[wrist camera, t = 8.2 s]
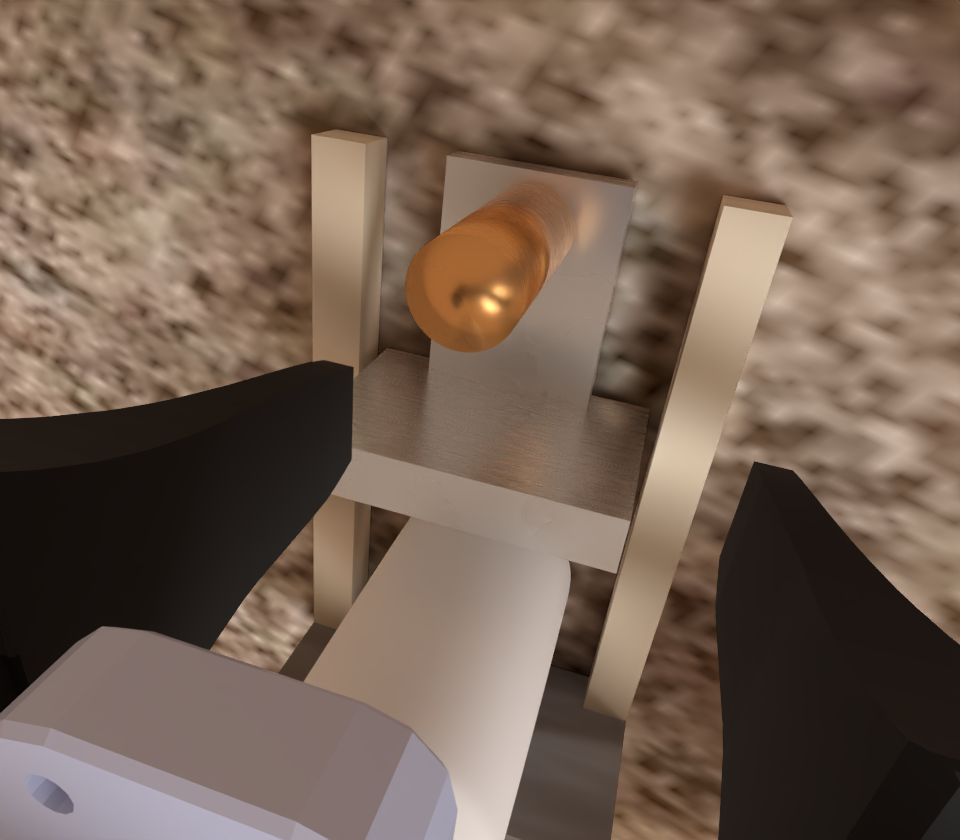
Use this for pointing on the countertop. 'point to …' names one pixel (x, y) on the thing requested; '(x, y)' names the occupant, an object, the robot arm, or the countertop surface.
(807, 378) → the countertop surface
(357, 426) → the press jaw
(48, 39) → the countertop surface
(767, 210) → the press frame
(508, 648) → the can
